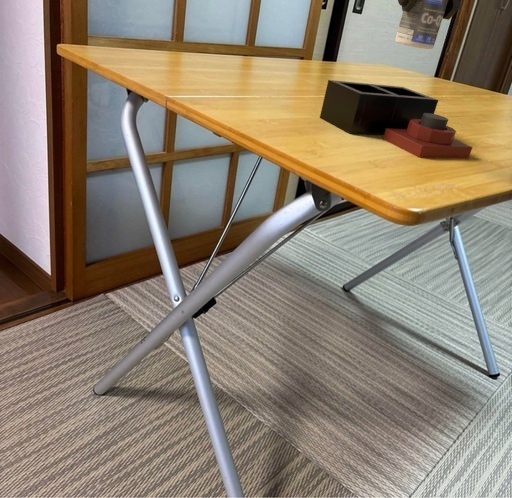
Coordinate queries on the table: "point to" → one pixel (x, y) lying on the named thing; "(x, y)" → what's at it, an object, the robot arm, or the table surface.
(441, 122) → the button
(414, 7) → the pill bottle
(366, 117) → the black divided box
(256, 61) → the table surface
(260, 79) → the table surface
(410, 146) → the panel
